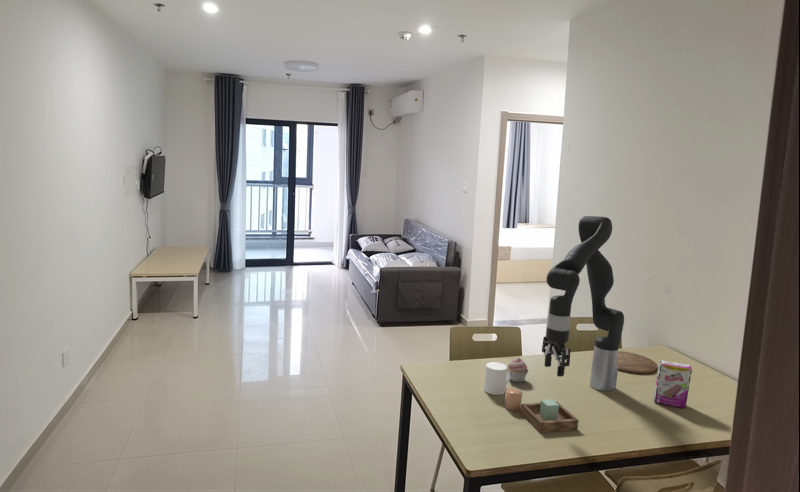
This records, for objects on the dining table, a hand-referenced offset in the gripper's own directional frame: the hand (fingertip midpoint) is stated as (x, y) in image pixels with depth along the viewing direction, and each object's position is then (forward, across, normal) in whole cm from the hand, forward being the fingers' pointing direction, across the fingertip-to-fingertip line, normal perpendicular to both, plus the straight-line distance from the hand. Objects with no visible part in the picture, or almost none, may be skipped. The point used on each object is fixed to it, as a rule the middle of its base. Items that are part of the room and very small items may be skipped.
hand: (553, 371), depth 190 cm
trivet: (+20, +46, -67) cm, 84 cm away
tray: (+19, 0, 0) cm, 19 cm away
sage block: (+18, 0, 0) cm, 18 cm away
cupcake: (+19, +35, -5) cm, 40 cm away
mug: (+19, +27, +7) cm, 34 cm away
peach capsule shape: (+19, +12, +8) cm, 24 cm away
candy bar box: (+19, +6, -56) cm, 59 cm away
